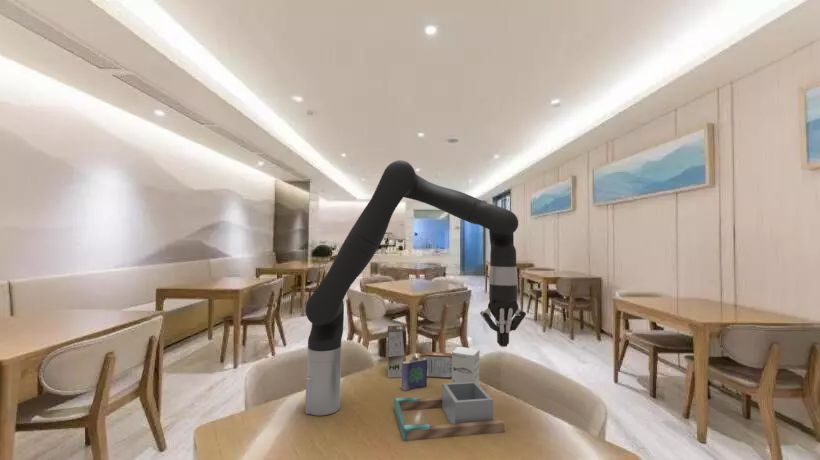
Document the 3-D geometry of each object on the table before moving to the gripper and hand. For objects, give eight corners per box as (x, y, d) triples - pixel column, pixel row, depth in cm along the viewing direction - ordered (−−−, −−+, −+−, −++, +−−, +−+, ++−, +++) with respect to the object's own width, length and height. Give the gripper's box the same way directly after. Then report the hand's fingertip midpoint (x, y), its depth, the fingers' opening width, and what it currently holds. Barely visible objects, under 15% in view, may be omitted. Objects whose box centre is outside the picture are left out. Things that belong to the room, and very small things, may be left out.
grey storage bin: (455, 431, 88) (455, 402, 88) (442, 408, 100) (442, 383, 100) (492, 427, 90) (493, 399, 90) (476, 406, 101) (476, 381, 102)
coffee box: (406, 377, 123) (406, 331, 124) (387, 378, 123) (388, 331, 123) (403, 368, 133) (404, 325, 133) (386, 368, 132) (387, 325, 132)
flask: (404, 392, 111) (404, 358, 111) (399, 389, 114) (399, 355, 114) (428, 386, 116) (428, 353, 116) (423, 383, 118) (423, 351, 119)
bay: (403, 442, 83) (403, 428, 83) (394, 409, 100) (394, 398, 100) (504, 433, 88) (504, 420, 88) (479, 403, 104) (479, 392, 104)
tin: (459, 376, 125) (459, 352, 125) (459, 380, 122) (459, 355, 122) (416, 374, 126) (417, 350, 127) (416, 377, 123) (416, 353, 124)
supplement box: (450, 392, 112) (451, 351, 112) (457, 383, 118) (458, 345, 119) (473, 396, 108) (474, 355, 109) (479, 387, 115) (479, 348, 116)
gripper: (485, 284, 93) (485, 351, 92) (532, 284, 95) (532, 349, 95) (475, 281, 100) (475, 343, 100) (518, 281, 103) (518, 341, 102)
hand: (503, 345), depth 97 cm, fingers closed
